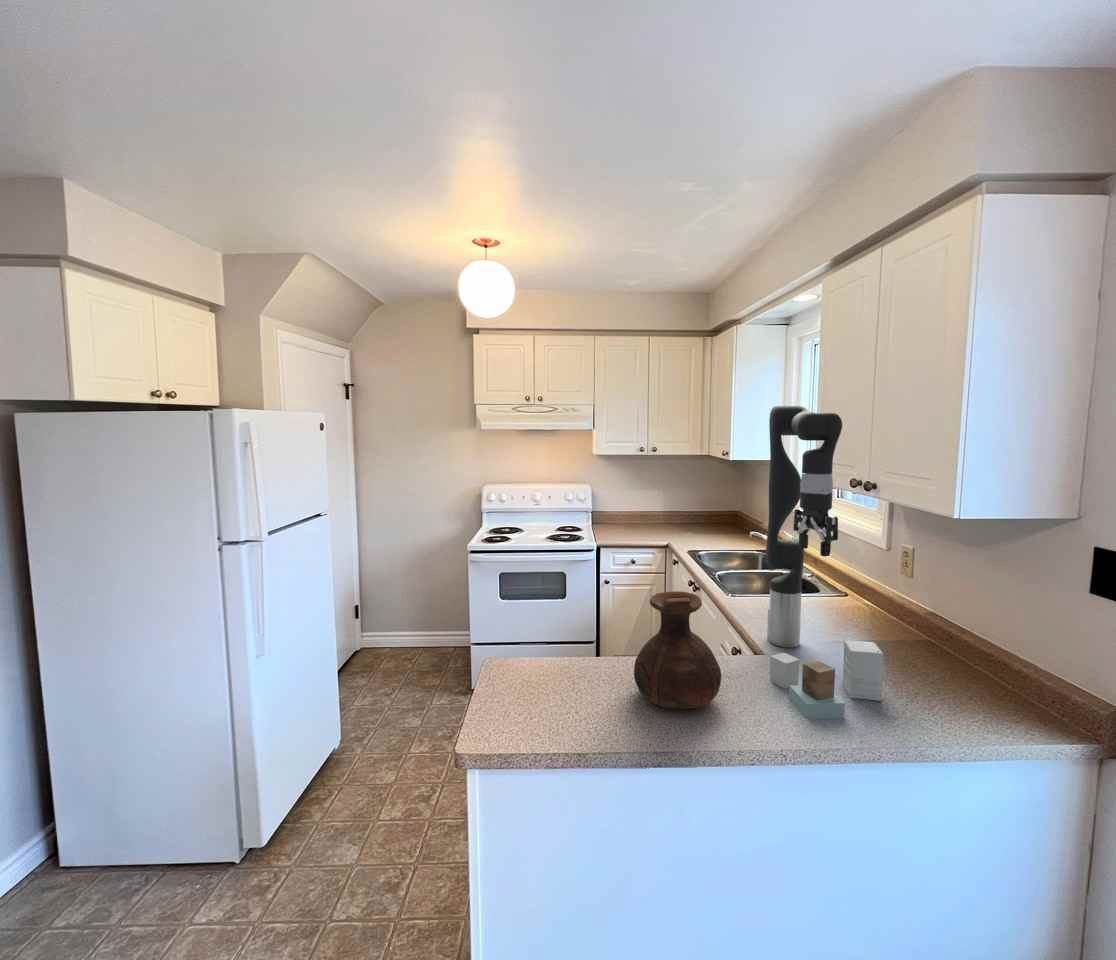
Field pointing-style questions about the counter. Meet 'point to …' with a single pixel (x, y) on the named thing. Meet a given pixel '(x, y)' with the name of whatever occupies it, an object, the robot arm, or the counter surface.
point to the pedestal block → (816, 704)
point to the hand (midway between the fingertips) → (813, 552)
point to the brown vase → (677, 657)
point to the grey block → (784, 670)
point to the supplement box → (862, 670)
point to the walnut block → (818, 680)
